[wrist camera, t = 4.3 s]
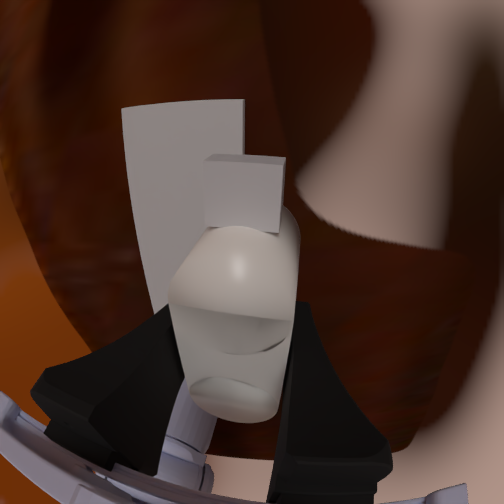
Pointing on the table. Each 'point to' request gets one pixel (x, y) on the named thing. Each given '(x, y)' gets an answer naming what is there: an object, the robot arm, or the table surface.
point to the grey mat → (174, 177)
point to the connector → (238, 290)
